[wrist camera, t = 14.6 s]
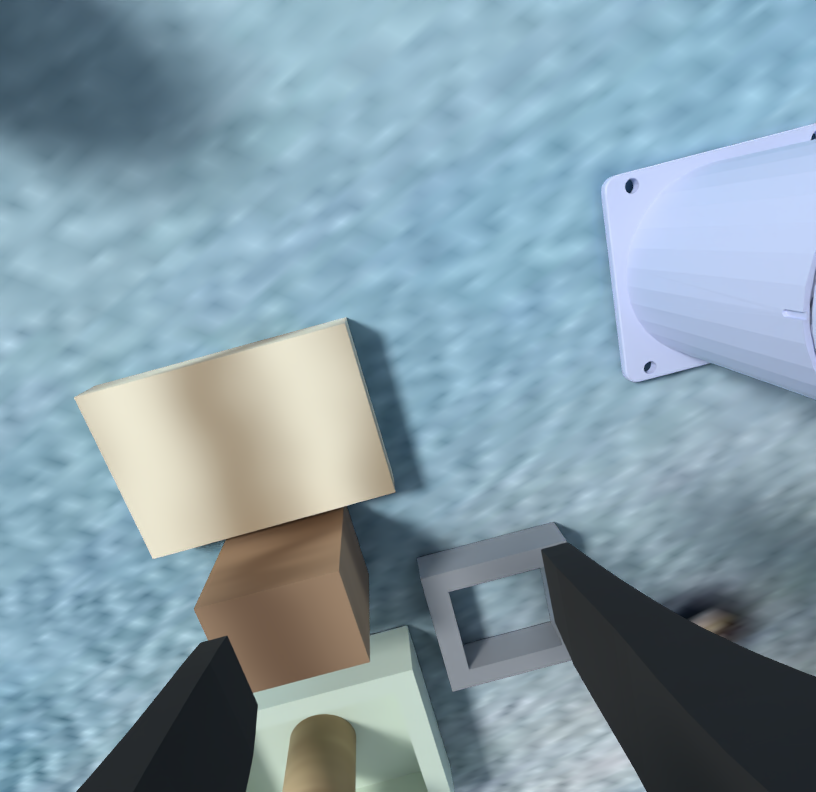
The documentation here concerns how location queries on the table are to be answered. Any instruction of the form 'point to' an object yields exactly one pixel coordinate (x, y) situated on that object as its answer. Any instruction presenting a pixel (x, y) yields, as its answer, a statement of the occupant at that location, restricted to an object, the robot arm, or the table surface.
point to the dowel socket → (482, 566)
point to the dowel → (321, 756)
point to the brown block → (291, 600)
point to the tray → (361, 721)
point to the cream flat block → (241, 438)
